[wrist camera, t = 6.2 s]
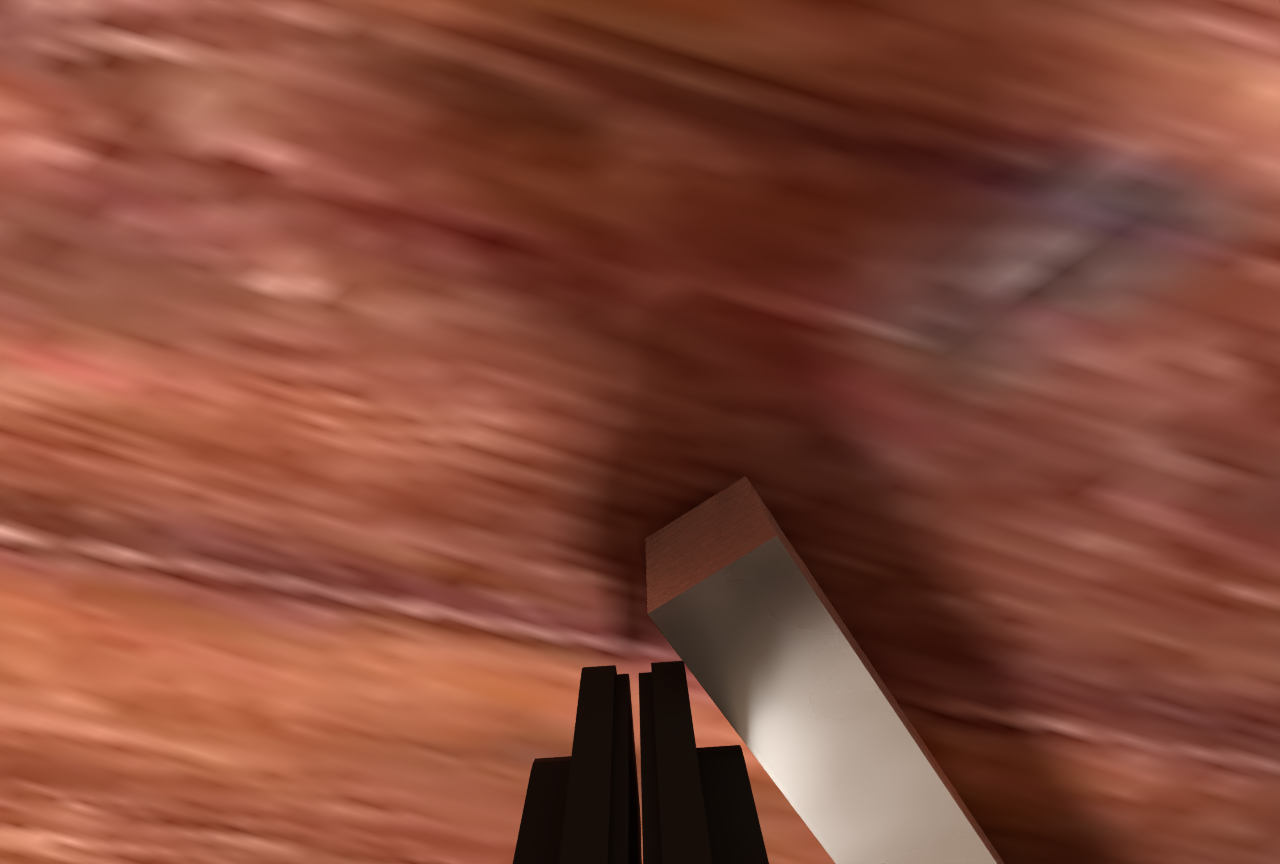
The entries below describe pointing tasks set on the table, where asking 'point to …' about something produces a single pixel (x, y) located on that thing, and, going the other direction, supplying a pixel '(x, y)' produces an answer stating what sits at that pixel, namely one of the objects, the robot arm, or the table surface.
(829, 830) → the tongs jaw
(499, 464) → the table surface
